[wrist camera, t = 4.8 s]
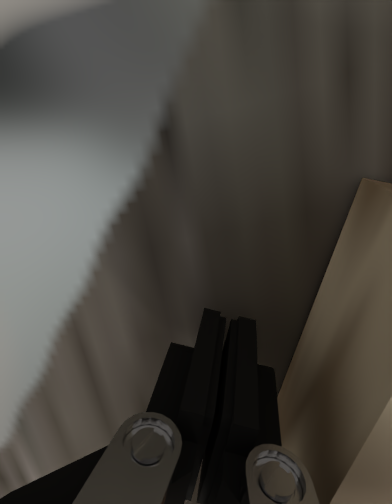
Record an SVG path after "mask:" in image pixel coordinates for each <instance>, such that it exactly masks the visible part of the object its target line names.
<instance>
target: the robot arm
mask: <svg viewBox="0 0 392 504" xmlns="http://www.w3.org/2000/svg"><path fill="white" fill-rule="evenodd" d="M220 314H221V312H219V311H215V310H211V309H207V308H204V311H203V316H202V320H201V324H200V328H199V332H198V336H197V340H196V344H195V348H191V347H188V346H184V345H180V344H176V343H172V342H171V344H170V347H169V349H168V352H167V355H166V358H165V360H164V363H163V366H162V369H161V372H160V374H159V377H158V380H157V383H156V386H155V388H154V391H153V394H152V397H151V400H150V402H149V405H148V408H147V411H146V412H142V413H139V414H135V415H133V416H132V417H130V418H128V419H127V420H126V421H125V422H124V423H123V424H122V425H121V426H120V428H119V429H118V431H117V433H116V434H115V436H114V437H113V439H112V441H111V442H110V444H109V445H108V446H106V447H104V448H102V449H100V450H98V451H96V452H93V453H91V454H89V455H87V456H85V457H83V458H81V459H79V460H77V461H75V462H73V463H71V464H68V465H66V466H64V467H62V468H60V469H58V470H56V471H54V472H52V473H50V474H48V475H46V476H43V477H41V478H39V479H37V480H35V481H33V482H31V483H29V484H27V485H25V486H23V487H21V488H18V489H16V490H14V491H12V492H10V493H9V494H7V495H6V496H4V497H2V498H1V499H0V504H184V502H185V499H186V500H189V501H191V498H192V494H193V491H194V487H195V484H196V480H197V477H198V473H199V470H200V466H201V463H202V468H201V475H200V483H199V490H198V497H197V503H200V504H319V501H318V498H317V495H316V491H315V488H314V485H313V482H312V479H311V477H310V474H309V472H308V470H307V468H306V467H305V466H304V464H303V463H302V462H301V460H300V459H299V458H298V457H296V456H295V455H294V454H293V453H292V452H291V451H289V450H287V449H285V448H283V447H282V443H281V432H280V422H279V412H278V401H277V391H276V381H275V372H274V369H273V368H271V367H267V366H263V365H259V364H257V336H256V320H253V319H248V318H244V317H240V316H239V317H238V319H237V320H233V319H231V321H230V325H229V329H228V332H227V336H226V340H225V344H224V347H223V341H224V333H225V325H226V318H225V317H221V316H220ZM222 350H223V351H222ZM202 459H203V461H202Z"/></svg>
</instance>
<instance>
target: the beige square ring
mask: <svg viewBox="0 0 392 504" xmlns="http://www.w3.org/2000/svg"><path fill="white" fill-rule="evenodd" d="M277 401H278V412H279V422H280V432H281V443H282V447H283V448H285V449H287V450H289V451H291V452H292V453H293V454H294V455H295V456H296V457H298V458H299V459H300V460H301V462H302V463H303V464H304V466H305V467H306V468H307V470H308V472H309V474H310V477H311V479H312V482H313V485H314V488H315V491H316V495H317V498H318V501H319V504H392V184H391V183H386V182H381V181H376V180H372V179H367V178H362V180H361V183H360V185H359V188H358V190H357V193H356V195H355V198H354V201H353V203H352V206H351V208H350V211H349V214H348V216H347V219H346V221H345V224H344V226H343V229H342V232H341V234H340V237H339V239H338V242H337V245H336V247H335V250H334V252H333V255H332V257H331V260H330V263H329V265H328V268H327V270H326V273H325V276H324V278H323V281H322V283H321V286H320V288H319V291H318V294H317V296H316V299H315V301H314V304H313V307H312V309H311V312H310V314H309V317H308V319H307V322H306V325H305V327H304V330H303V332H302V335H301V338H300V340H299V343H298V345H297V348H296V350H295V353H294V356H293V358H292V361H291V363H290V366H289V369H288V371H287V374H286V376H285V379H284V381H283V384H282V387H281V389H280V392H279V394H278V397H277Z"/></svg>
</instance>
